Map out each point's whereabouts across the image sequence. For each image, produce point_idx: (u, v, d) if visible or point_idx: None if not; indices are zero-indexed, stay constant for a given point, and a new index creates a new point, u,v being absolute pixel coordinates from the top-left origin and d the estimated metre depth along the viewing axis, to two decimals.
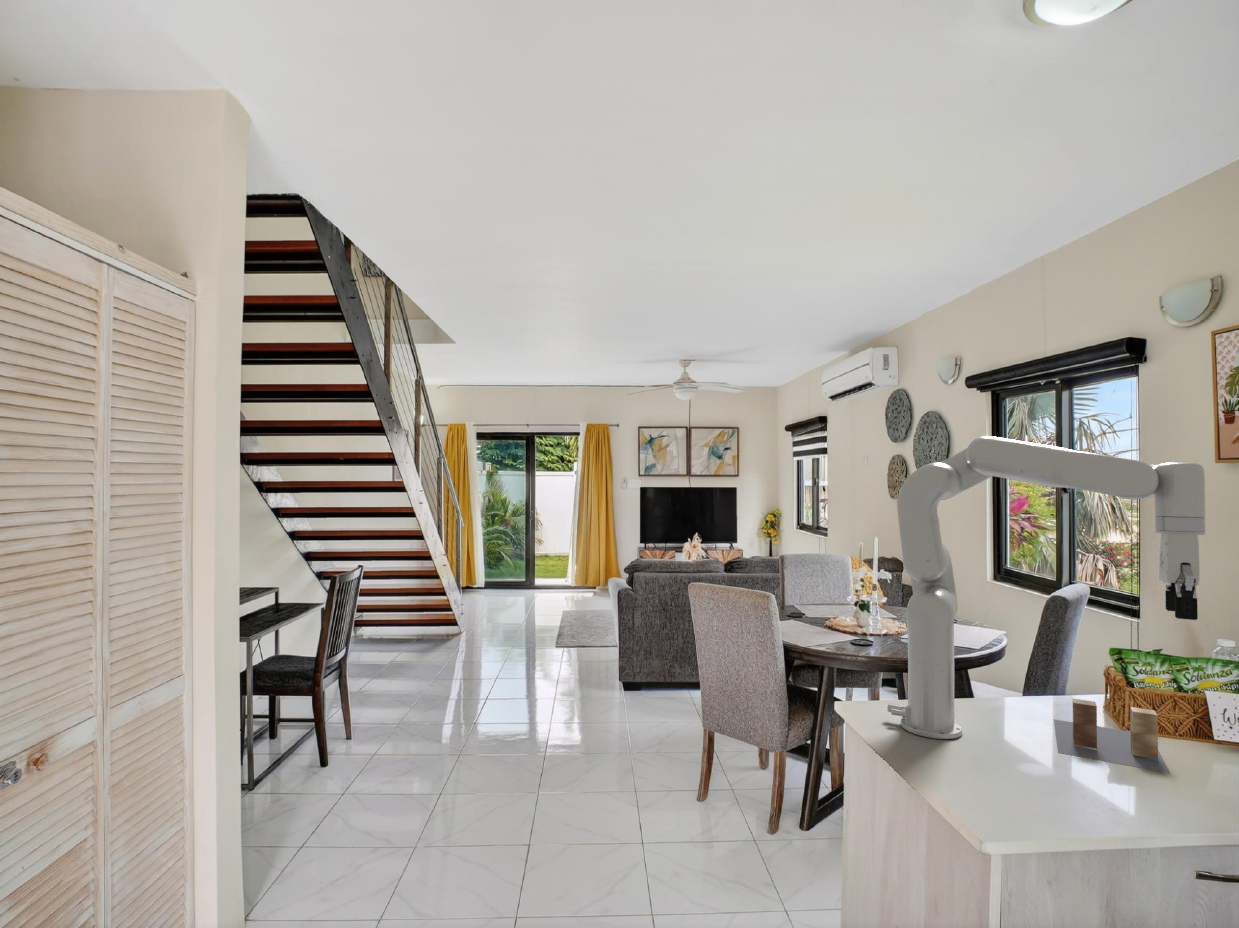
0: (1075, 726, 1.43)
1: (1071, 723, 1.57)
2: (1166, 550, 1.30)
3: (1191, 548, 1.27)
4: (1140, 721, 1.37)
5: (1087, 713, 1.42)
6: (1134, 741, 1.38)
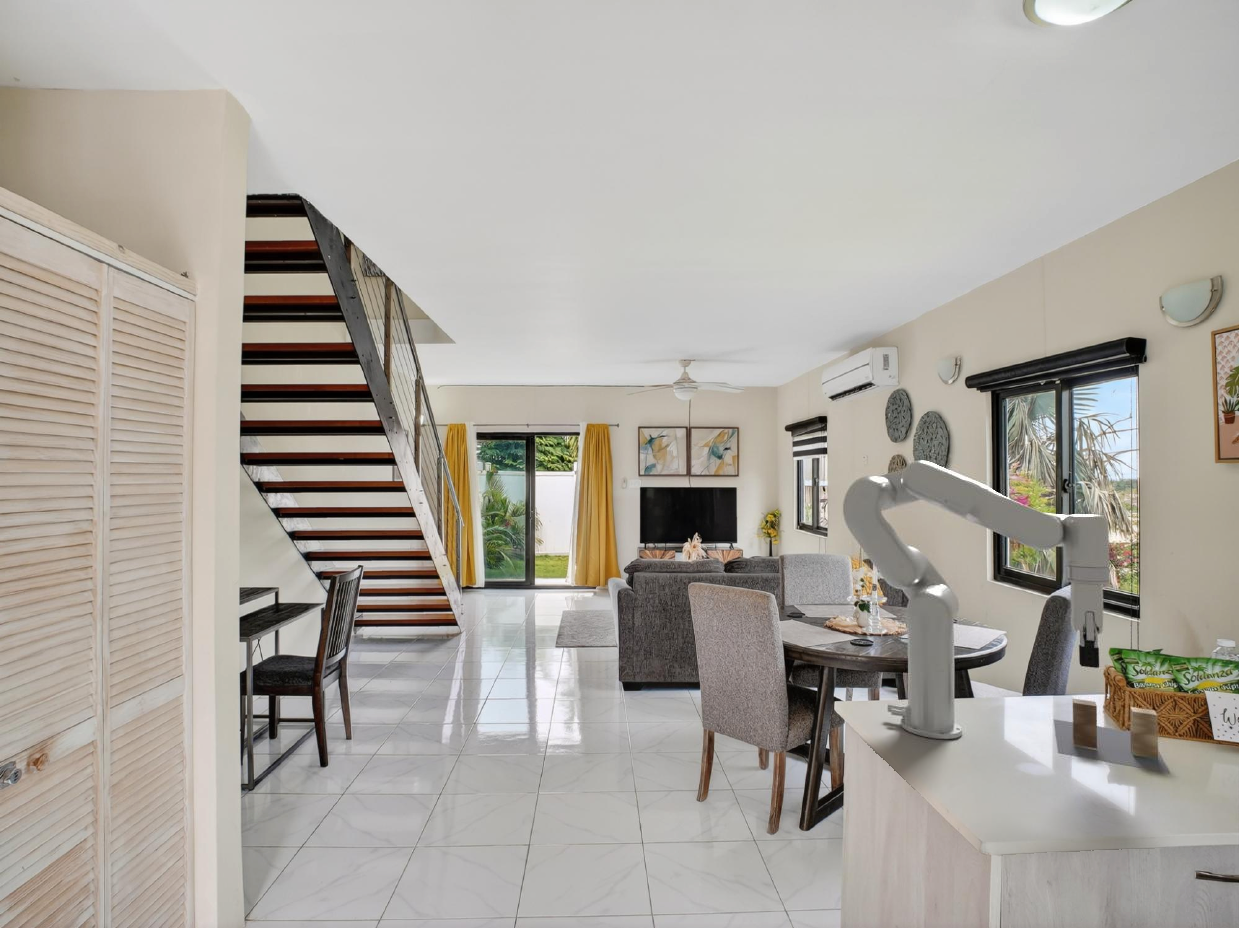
0: (1075, 726, 1.43)
1: (1071, 723, 1.57)
2: (1073, 599, 1.36)
3: (1095, 597, 1.34)
4: (1140, 721, 1.37)
5: (1087, 713, 1.42)
6: (1134, 741, 1.38)
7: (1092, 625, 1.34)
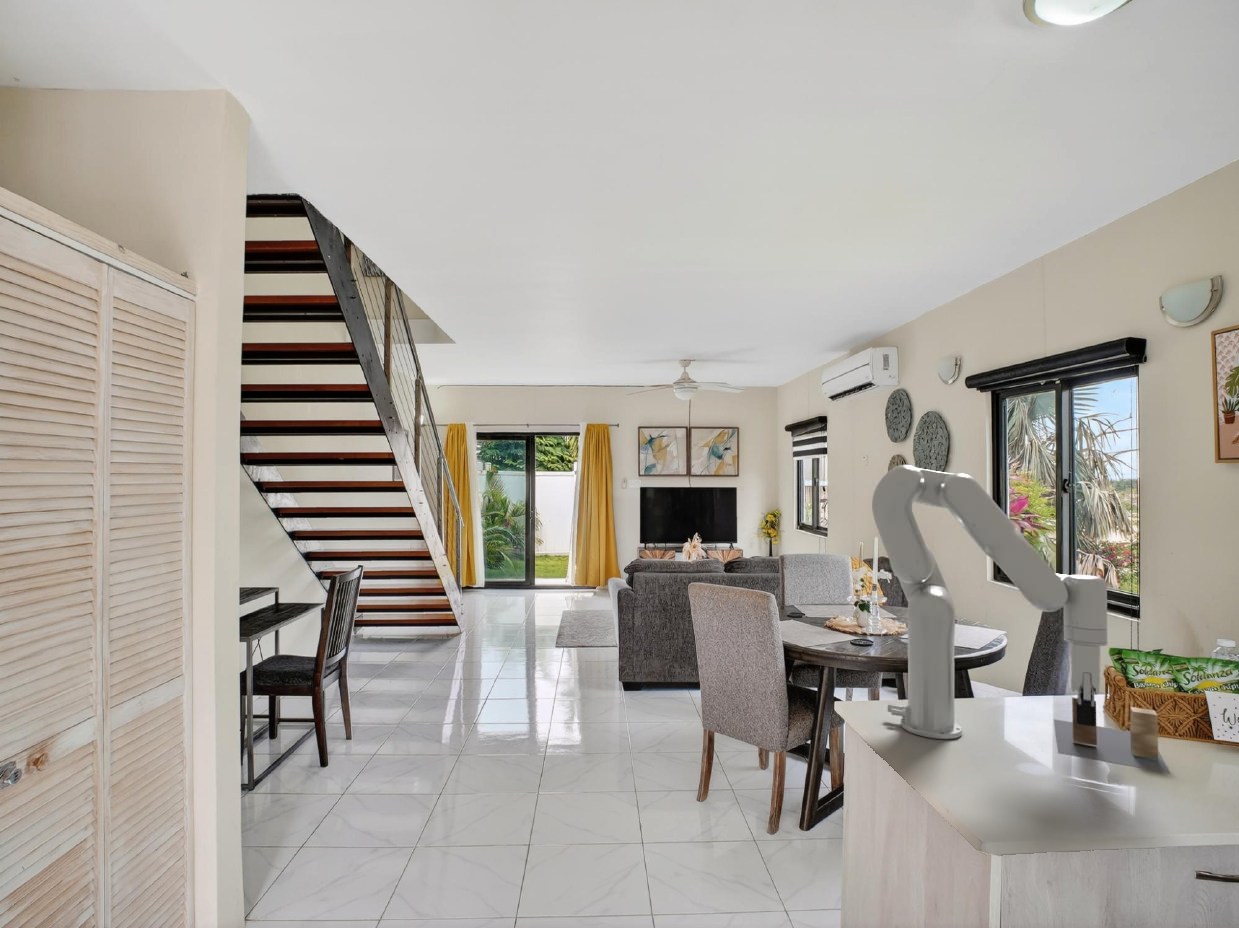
0: (1075, 722, 1.43)
1: (1071, 723, 1.57)
2: (1071, 659, 1.40)
3: (1092, 659, 1.37)
4: (1140, 721, 1.37)
5: None
6: (1134, 741, 1.38)
7: (1089, 686, 1.37)
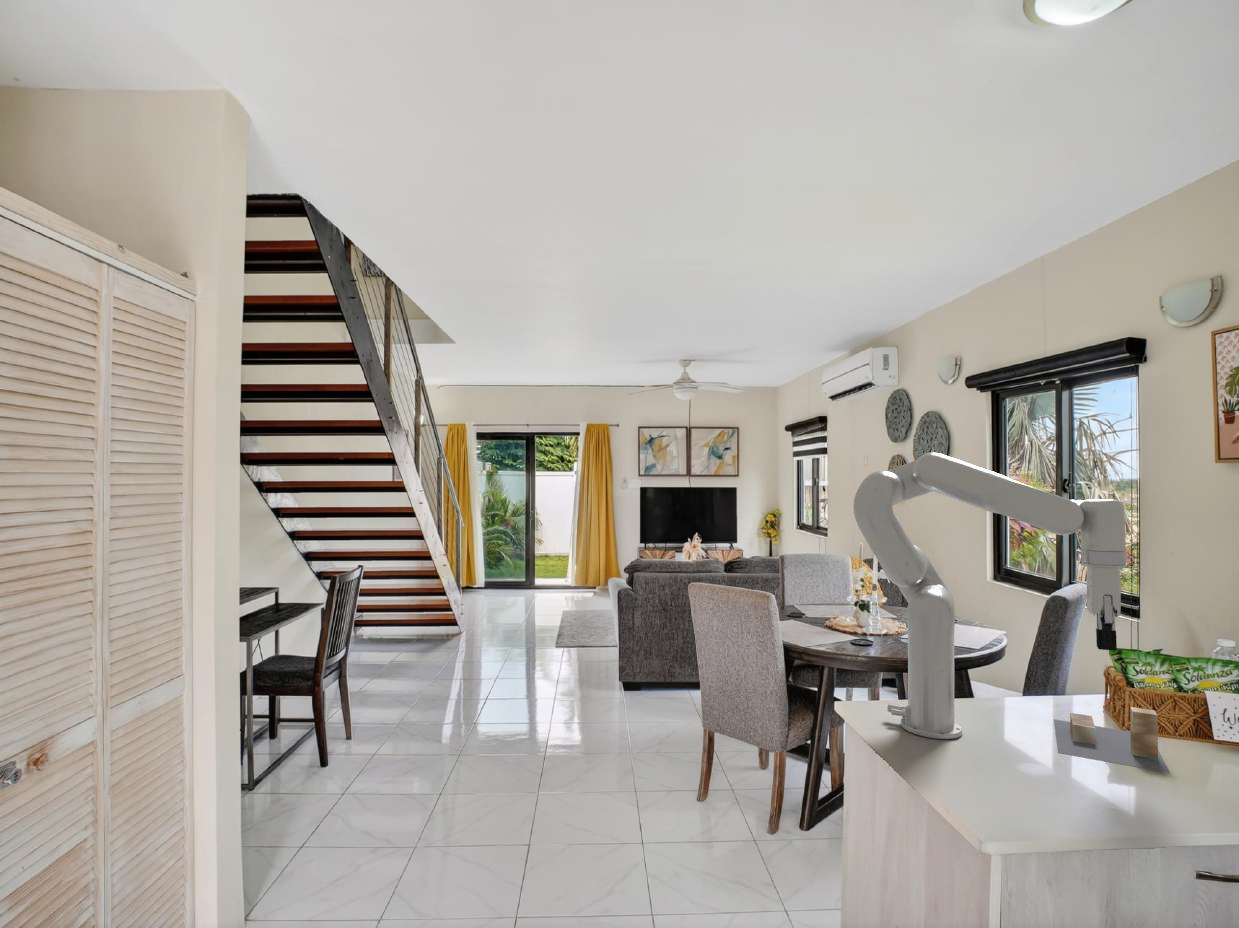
0: (1073, 718, 1.49)
1: None
2: (1090, 582, 1.38)
3: (1112, 581, 1.35)
4: (1140, 721, 1.37)
5: (1083, 716, 1.51)
6: (1134, 741, 1.38)
7: (1110, 608, 1.35)
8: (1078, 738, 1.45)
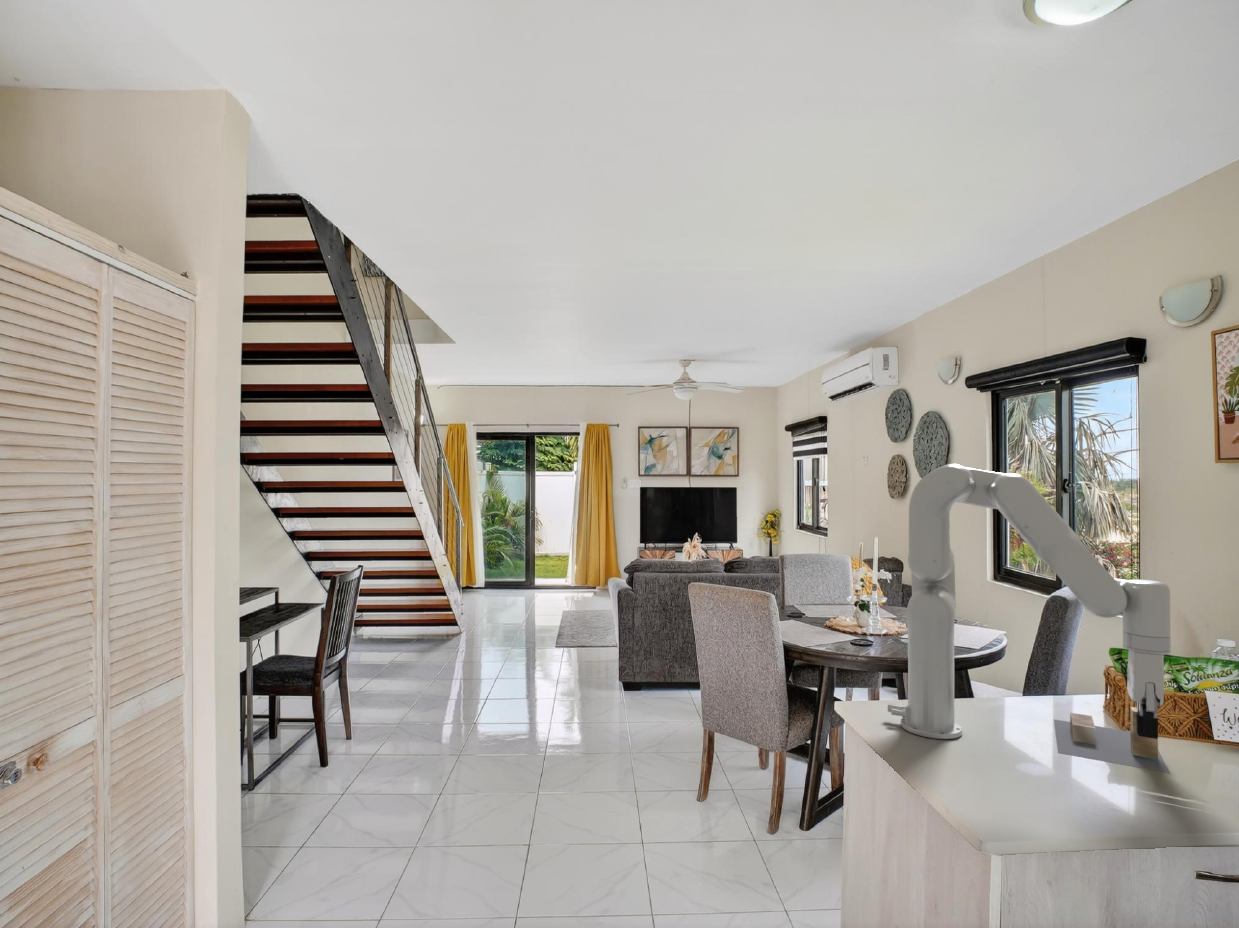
0: (1073, 718, 1.49)
1: None
2: (1132, 668, 1.33)
3: (1156, 668, 1.31)
4: None
5: (1083, 716, 1.51)
6: (1134, 741, 1.38)
7: (1152, 696, 1.31)
8: (1078, 738, 1.45)
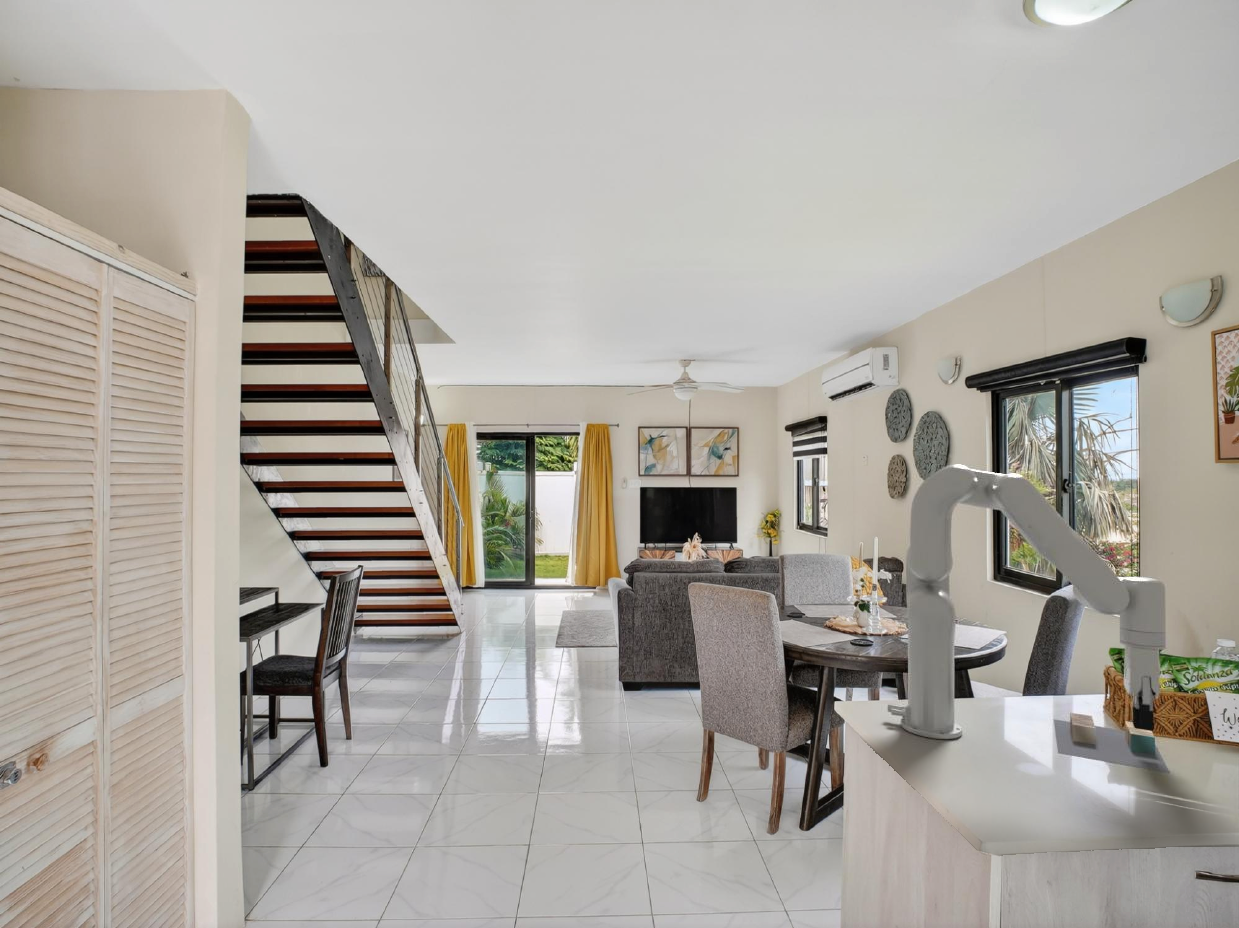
0: (1073, 718, 1.49)
1: None
2: (1129, 662, 1.38)
3: (1152, 663, 1.35)
4: None
5: (1083, 716, 1.51)
6: (1130, 729, 1.43)
7: (1148, 690, 1.35)
8: (1078, 738, 1.45)
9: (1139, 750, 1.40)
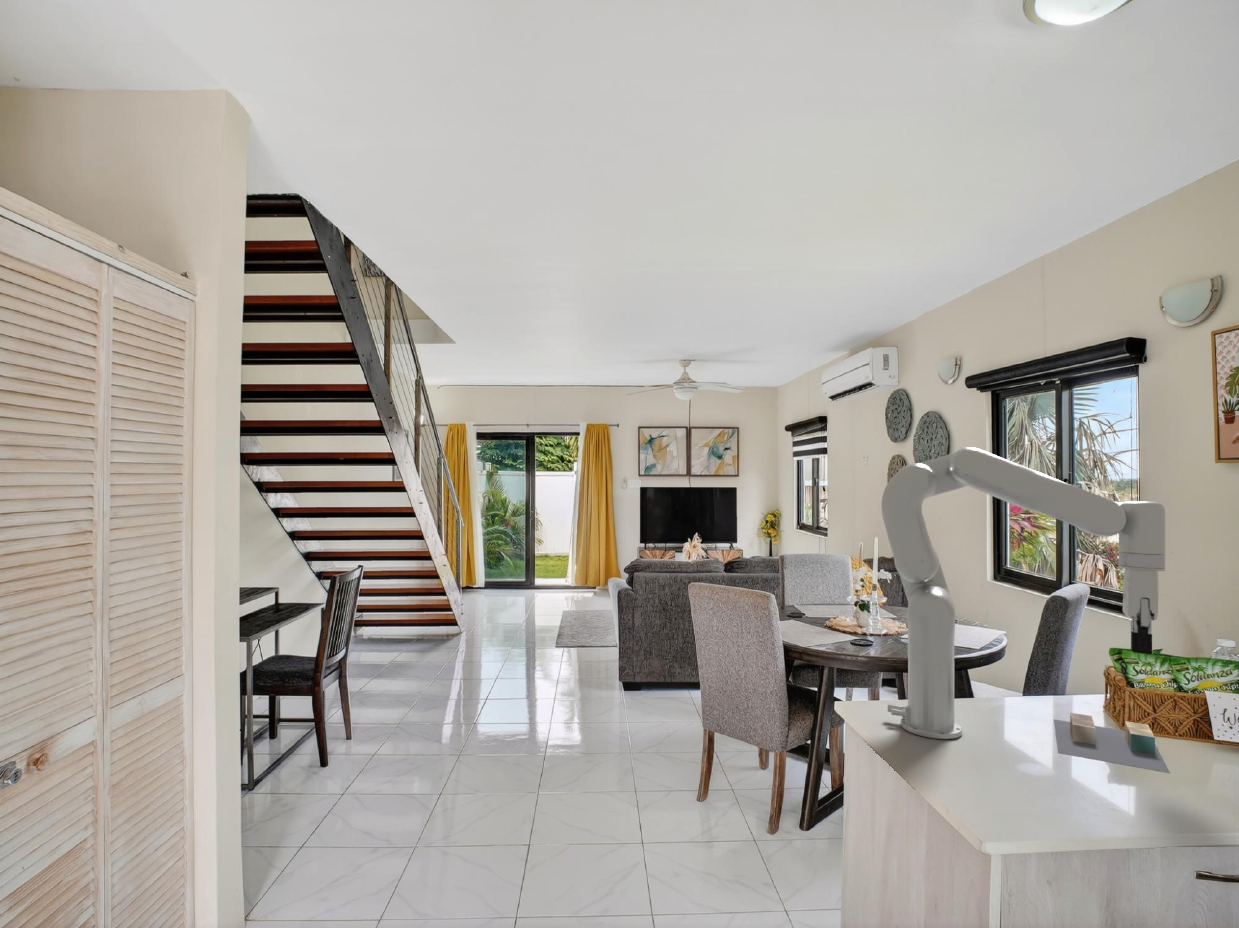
0: (1073, 718, 1.49)
1: None
2: (1127, 585, 1.37)
3: (1150, 584, 1.34)
4: (1133, 724, 1.46)
5: (1083, 716, 1.51)
6: (1130, 729, 1.43)
7: (1147, 611, 1.34)
8: (1078, 738, 1.45)
9: (1139, 750, 1.40)
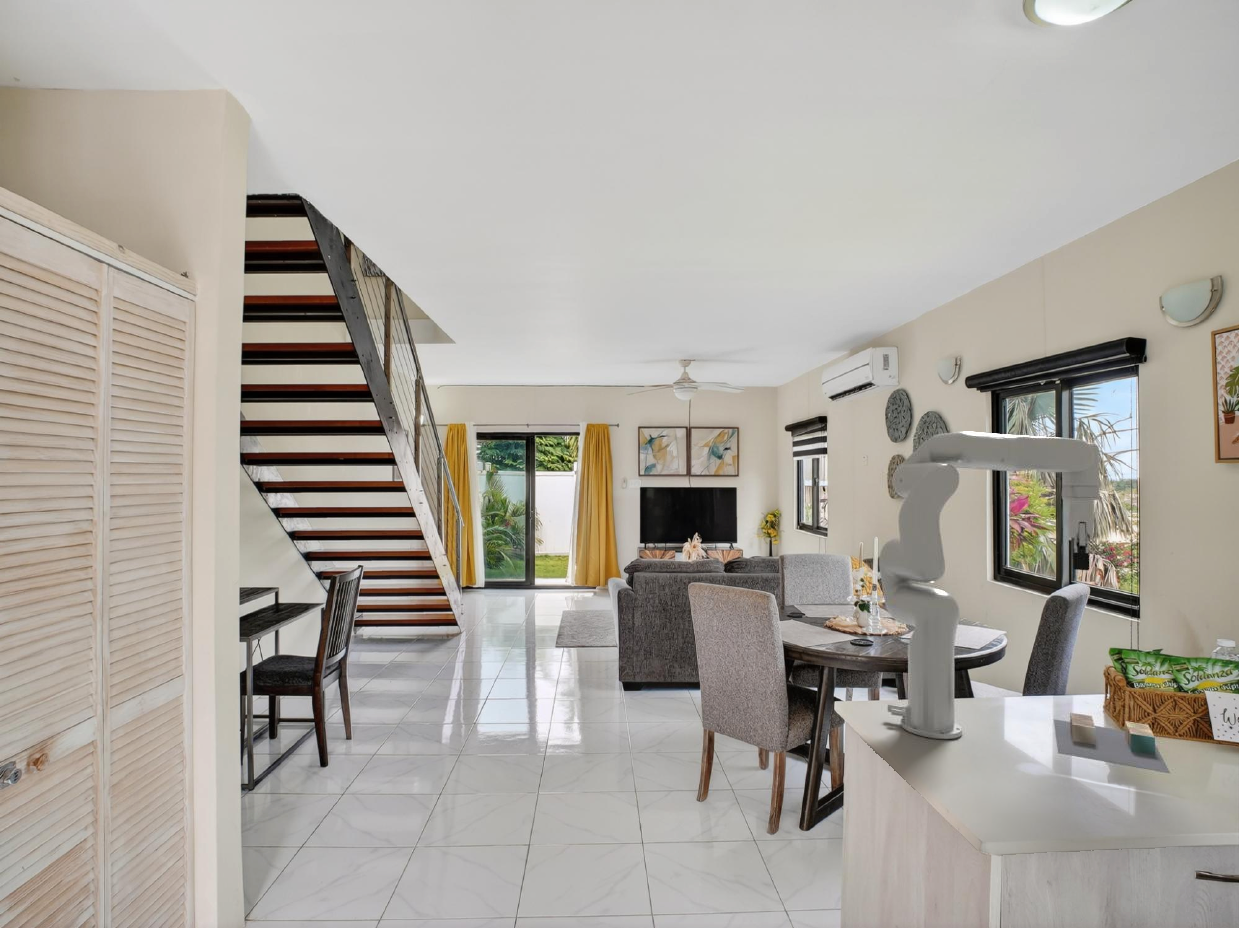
0: (1073, 718, 1.49)
1: None
2: (1068, 512, 1.63)
3: (1087, 510, 1.60)
4: (1133, 724, 1.46)
5: (1083, 716, 1.51)
6: (1130, 729, 1.43)
7: (1084, 533, 1.60)
8: (1078, 738, 1.45)
9: (1139, 750, 1.40)
